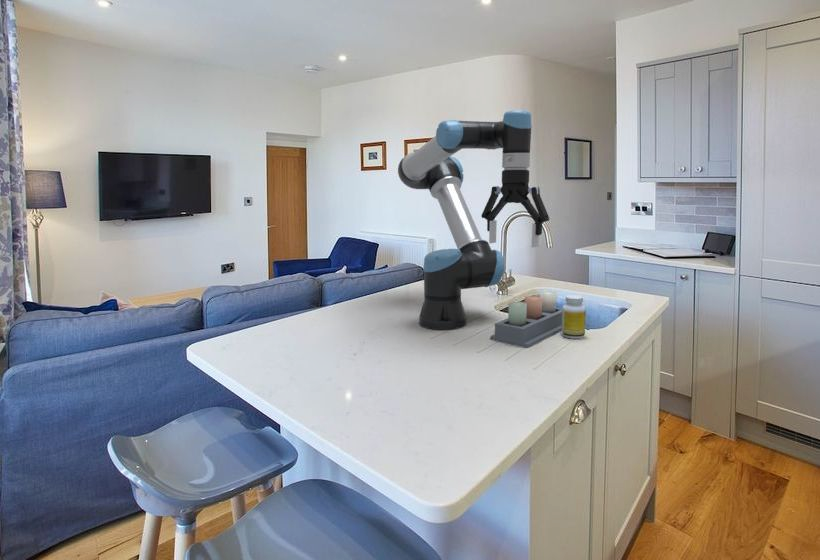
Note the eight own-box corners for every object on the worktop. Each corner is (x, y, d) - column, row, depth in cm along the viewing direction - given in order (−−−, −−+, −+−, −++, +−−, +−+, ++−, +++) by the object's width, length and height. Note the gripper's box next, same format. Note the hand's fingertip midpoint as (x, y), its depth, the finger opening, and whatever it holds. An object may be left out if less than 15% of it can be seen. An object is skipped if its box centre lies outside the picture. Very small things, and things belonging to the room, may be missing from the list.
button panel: (490, 339, 144) (490, 322, 143) (536, 319, 163) (536, 304, 162) (527, 347, 136) (528, 330, 135) (571, 325, 155) (572, 310, 154)
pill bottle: (586, 339, 142) (588, 299, 140) (562, 338, 143) (563, 299, 141) (583, 333, 148) (584, 294, 146) (560, 332, 149) (561, 294, 147)
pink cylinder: (521, 318, 149) (521, 298, 147) (529, 314, 152) (530, 295, 151) (536, 320, 145) (537, 300, 144) (544, 317, 149) (545, 297, 148)
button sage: (504, 324, 142) (505, 304, 141) (514, 321, 146) (514, 300, 145) (520, 327, 139) (520, 306, 138) (529, 324, 142) (530, 303, 141)
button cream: (536, 312, 155) (536, 293, 154) (543, 308, 159) (544, 290, 158) (551, 314, 152) (551, 295, 151) (558, 311, 155) (559, 292, 154)
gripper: (470, 169, 145) (469, 242, 149) (552, 168, 129) (548, 250, 134) (484, 169, 150) (483, 239, 155) (564, 168, 135) (559, 246, 139)
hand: (513, 244), depth 144 cm, fingers open, 13 cm apart
